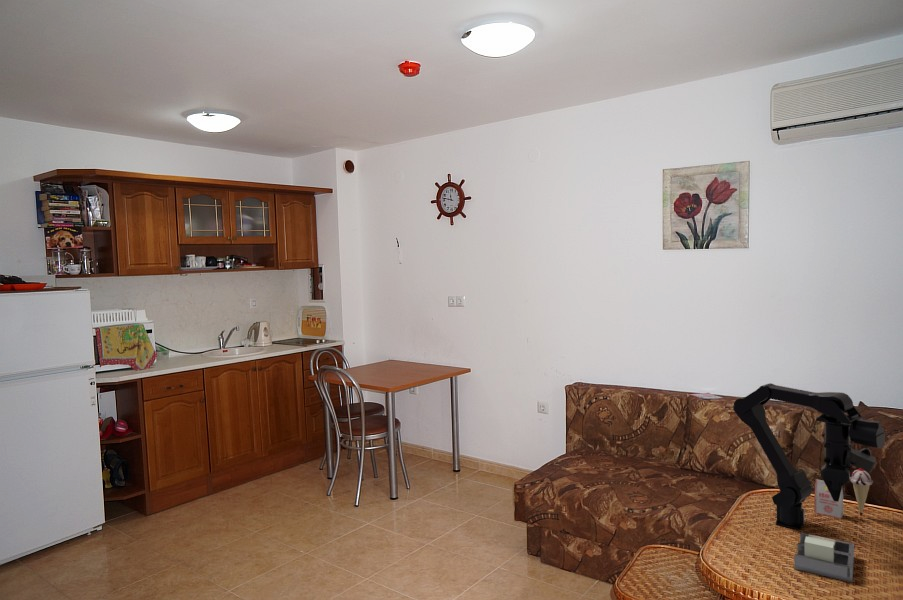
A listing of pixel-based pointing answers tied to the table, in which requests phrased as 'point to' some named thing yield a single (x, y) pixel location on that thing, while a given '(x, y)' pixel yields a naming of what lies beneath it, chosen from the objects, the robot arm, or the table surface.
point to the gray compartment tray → (836, 569)
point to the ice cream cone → (861, 486)
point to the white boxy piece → (827, 501)
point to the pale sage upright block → (819, 549)
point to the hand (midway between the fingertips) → (837, 495)
